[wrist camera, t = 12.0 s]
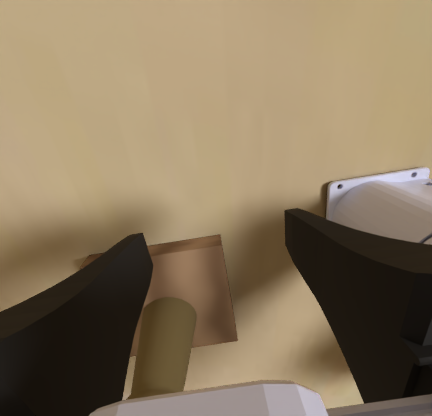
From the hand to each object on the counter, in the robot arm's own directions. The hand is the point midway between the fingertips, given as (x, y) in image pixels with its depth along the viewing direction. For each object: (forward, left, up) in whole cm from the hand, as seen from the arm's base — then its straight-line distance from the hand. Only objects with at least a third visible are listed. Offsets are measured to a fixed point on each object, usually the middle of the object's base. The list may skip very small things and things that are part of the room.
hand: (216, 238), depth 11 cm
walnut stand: (+7, +13, -10) cm, 18 cm away
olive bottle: (+7, +14, -9) cm, 18 cm away
